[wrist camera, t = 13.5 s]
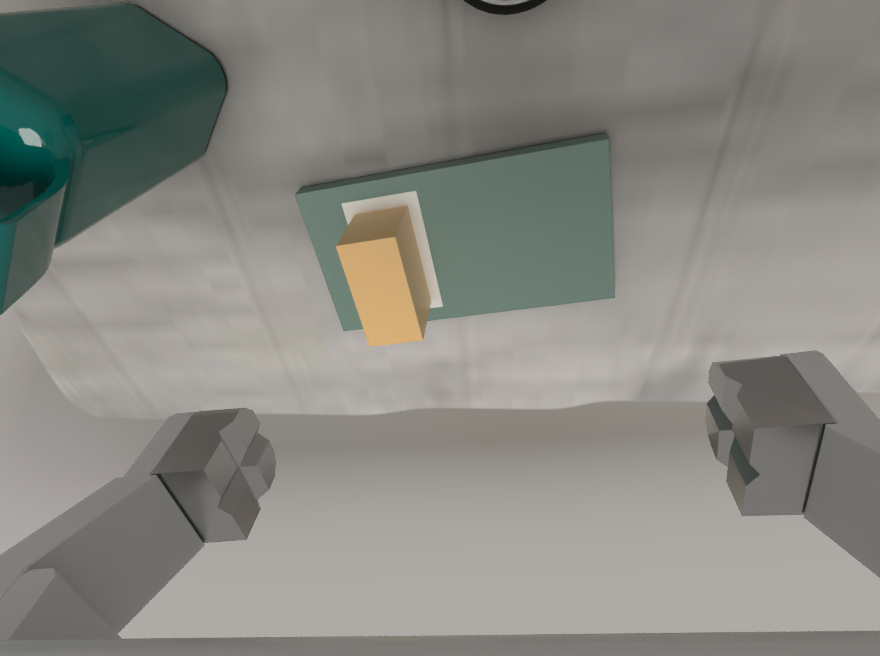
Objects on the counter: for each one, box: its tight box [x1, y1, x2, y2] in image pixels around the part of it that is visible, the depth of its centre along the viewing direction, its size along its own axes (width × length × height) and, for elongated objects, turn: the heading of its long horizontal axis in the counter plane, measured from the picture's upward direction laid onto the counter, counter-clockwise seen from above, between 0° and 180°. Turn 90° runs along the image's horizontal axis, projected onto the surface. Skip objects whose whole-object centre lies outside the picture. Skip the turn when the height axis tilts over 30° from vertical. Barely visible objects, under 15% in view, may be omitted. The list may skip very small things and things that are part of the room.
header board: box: [295, 133, 615, 331], centre depth 40 cm, size 22×12×5 cm, turn 102°
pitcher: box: [0, 3, 226, 315], centre depth 28 cm, size 10×8×22 cm
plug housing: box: [336, 205, 431, 347], centre depth 39 cm, size 4×8×6 cm, turn 12°
